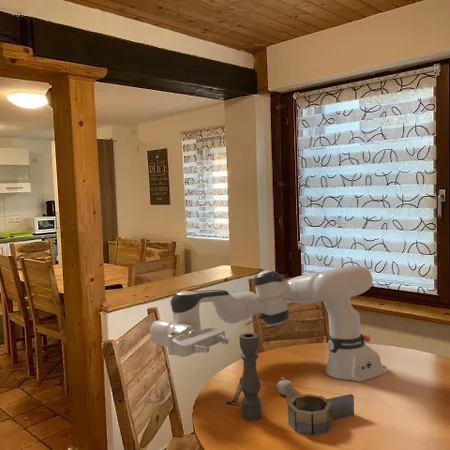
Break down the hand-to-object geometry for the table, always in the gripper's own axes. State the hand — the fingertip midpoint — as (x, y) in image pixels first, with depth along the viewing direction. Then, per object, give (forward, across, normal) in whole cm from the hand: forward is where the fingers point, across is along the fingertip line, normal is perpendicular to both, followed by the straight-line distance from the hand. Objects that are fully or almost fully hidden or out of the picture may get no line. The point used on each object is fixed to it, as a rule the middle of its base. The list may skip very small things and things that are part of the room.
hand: (217, 345), depth 149 cm
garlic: (+12, -19, -20) cm, 30 cm away
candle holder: (+12, 0, -20) cm, 23 cm away
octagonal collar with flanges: (+28, -12, -20) cm, 36 cm away
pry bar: (-1, -12, -20) cm, 24 cm away
